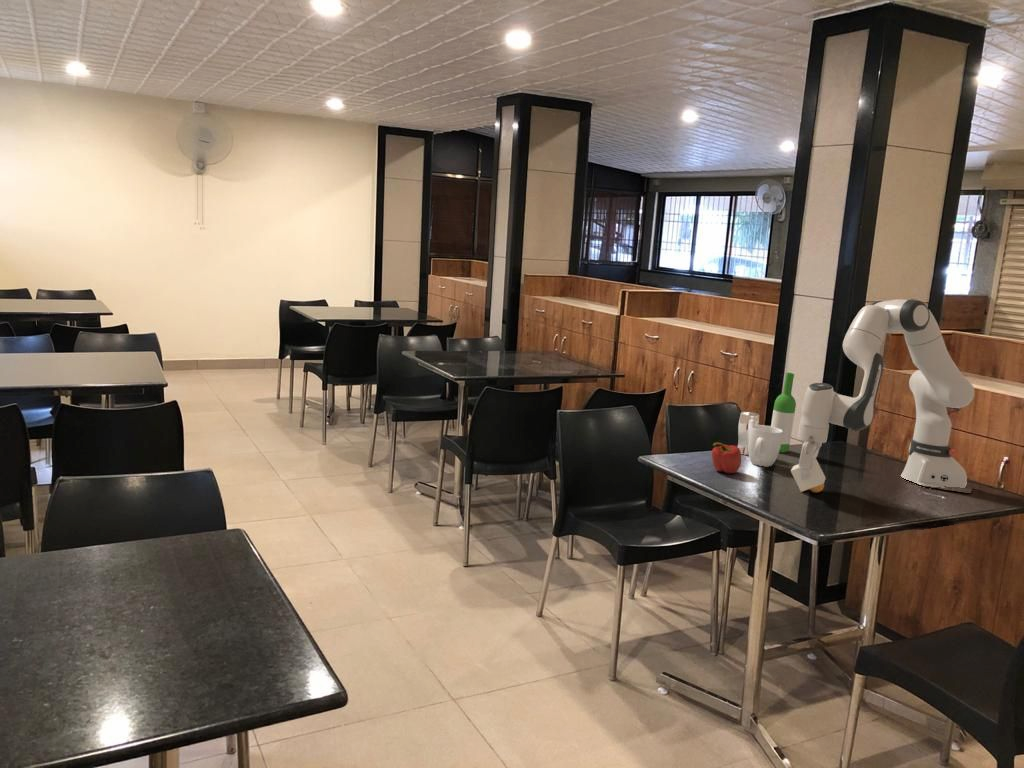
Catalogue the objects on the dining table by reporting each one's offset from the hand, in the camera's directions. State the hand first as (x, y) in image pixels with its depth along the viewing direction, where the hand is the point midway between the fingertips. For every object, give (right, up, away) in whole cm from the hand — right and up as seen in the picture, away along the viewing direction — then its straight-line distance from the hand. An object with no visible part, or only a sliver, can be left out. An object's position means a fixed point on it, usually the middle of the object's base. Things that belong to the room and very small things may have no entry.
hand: (805, 476), depth 262 cm
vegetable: (-23, 0, +13) cm, 26 cm away
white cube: (+2, -3, -1) cm, 4 cm away
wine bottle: (+8, +4, +51) cm, 51 cm away
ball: (+3, -3, -1) cm, 4 cm away
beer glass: (-8, +4, +42) cm, 42 cm away
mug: (-6, +1, +27) cm, 27 cm away
